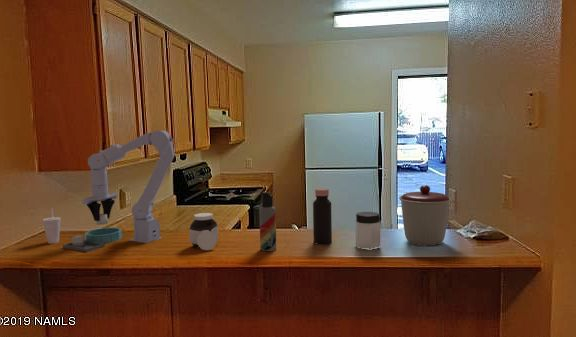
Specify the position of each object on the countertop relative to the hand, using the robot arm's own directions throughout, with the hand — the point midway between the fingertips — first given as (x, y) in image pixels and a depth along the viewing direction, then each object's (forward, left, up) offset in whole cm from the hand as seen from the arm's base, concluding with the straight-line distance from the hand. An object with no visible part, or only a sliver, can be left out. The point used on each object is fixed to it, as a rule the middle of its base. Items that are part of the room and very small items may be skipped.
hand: (101, 219), depth 165 cm
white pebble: (+2, +9, -8) cm, 13 cm away
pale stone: (0, 0, -2) cm, 2 cm away
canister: (-113, -48, -9) cm, 123 cm away
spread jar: (-42, -11, -9) cm, 44 cm away
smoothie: (+17, +9, -9) cm, 21 cm away
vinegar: (-79, -33, -9) cm, 86 cm away
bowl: (+2, -2, -9) cm, 9 cm away
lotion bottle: (-65, -17, -9) cm, 68 cm away
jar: (-96, -34, -9) cm, 102 cm away
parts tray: (-1, +9, -9) cm, 13 cm away
